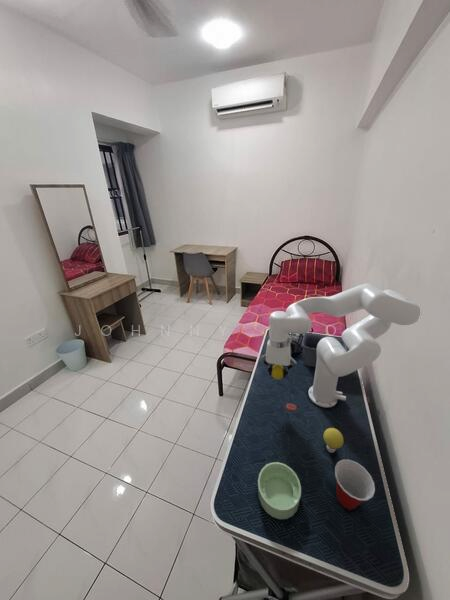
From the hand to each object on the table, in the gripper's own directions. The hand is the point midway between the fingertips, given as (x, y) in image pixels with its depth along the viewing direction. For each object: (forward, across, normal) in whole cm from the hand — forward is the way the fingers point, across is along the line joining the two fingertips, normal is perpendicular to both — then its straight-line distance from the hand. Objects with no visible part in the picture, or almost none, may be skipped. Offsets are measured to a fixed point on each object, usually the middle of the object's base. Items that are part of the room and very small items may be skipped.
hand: (277, 373), depth 105 cm
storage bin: (+16, -20, -31) cm, 40 cm away
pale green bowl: (+15, -5, +38) cm, 41 cm away
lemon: (+3, 0, 0) cm, 3 cm away
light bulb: (+16, -22, +18) cm, 33 cm away
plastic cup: (+16, -26, +33) cm, 45 cm away
